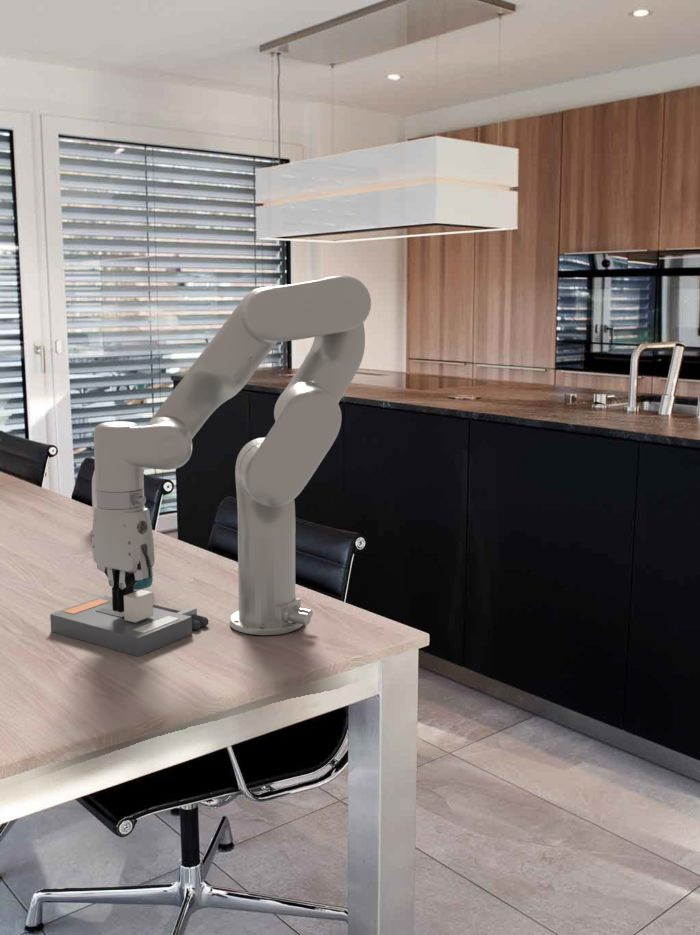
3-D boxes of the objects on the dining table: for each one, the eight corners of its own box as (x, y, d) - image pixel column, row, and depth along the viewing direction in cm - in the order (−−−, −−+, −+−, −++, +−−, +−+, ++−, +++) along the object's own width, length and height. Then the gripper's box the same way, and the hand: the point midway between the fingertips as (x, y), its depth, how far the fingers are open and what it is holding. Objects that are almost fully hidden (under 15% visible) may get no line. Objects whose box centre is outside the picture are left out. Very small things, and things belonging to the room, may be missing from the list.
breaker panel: (192, 634, 155) (191, 616, 155) (138, 656, 145) (138, 637, 145) (106, 612, 166) (105, 595, 165) (51, 631, 156) (50, 613, 156)
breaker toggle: (153, 615, 154) (152, 592, 153) (135, 622, 151) (134, 598, 150) (142, 613, 155) (141, 589, 154) (124, 619, 152) (123, 595, 151)
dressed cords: (211, 625, 160) (211, 611, 159) (195, 632, 156) (195, 618, 156) (128, 604, 170) (127, 591, 170) (111, 610, 167) (110, 597, 166)
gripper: (170, 501, 150) (173, 612, 154) (105, 490, 159) (109, 595, 162) (136, 509, 144) (139, 624, 147) (70, 497, 152) (74, 607, 156)
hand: (123, 609), depth 155 cm, fingers closed
